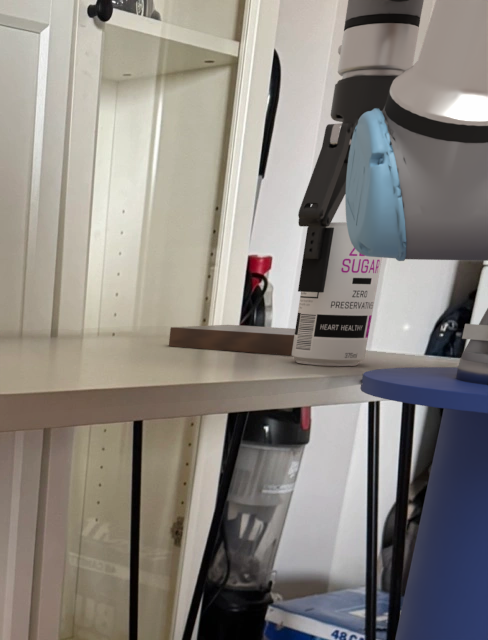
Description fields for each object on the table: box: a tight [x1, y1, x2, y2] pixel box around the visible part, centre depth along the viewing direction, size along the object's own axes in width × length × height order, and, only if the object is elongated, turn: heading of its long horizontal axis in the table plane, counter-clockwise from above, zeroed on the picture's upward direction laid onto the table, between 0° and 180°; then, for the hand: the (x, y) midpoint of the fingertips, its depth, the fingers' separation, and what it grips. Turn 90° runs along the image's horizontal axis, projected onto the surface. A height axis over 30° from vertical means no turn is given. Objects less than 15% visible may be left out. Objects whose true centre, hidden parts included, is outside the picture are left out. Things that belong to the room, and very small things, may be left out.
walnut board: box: [168, 324, 295, 357], centre depth 143 cm, size 20×16×2 cm
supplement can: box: [291, 221, 383, 367], centre depth 119 cm, size 8×8×15 cm
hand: (337, 291), depth 119 cm, fingers open, 13 cm apart
